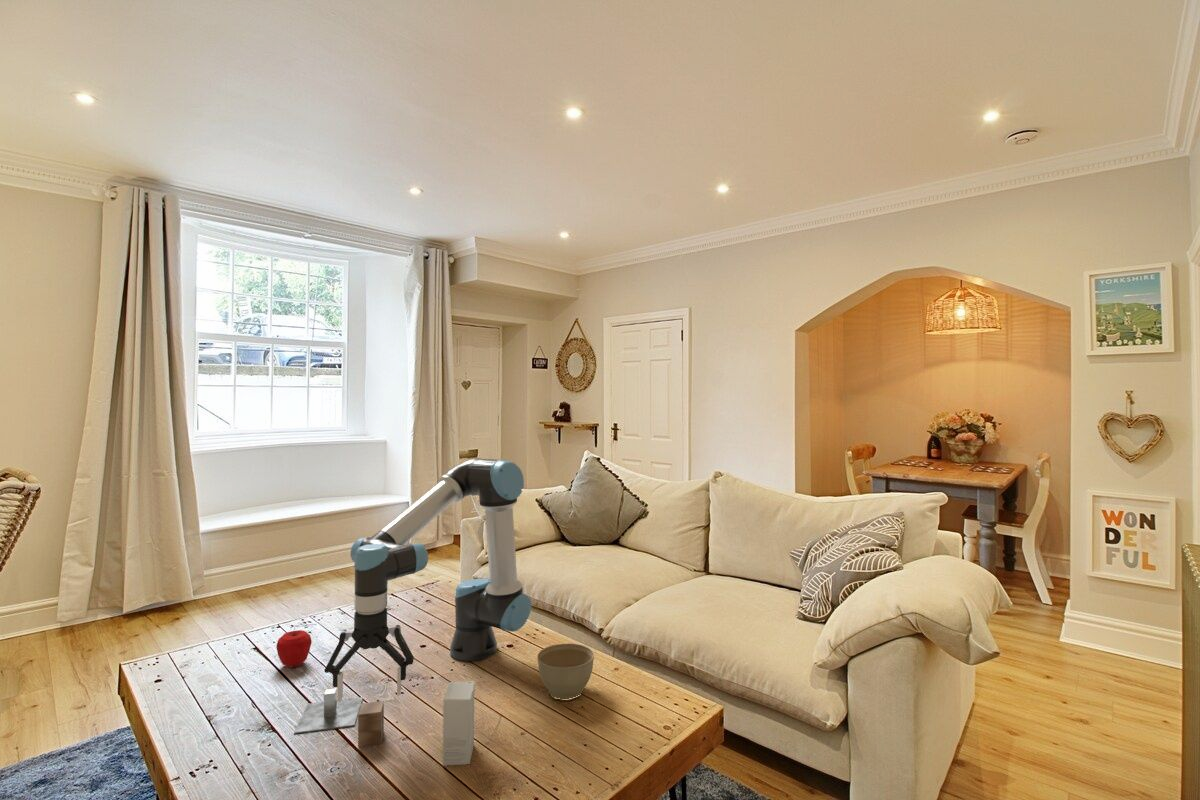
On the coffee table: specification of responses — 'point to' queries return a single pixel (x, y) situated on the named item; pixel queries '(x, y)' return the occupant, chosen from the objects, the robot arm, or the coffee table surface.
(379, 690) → the coffee table surface
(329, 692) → the grey square base plate
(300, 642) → the apple
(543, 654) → the planter bowl
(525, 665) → the coffee table surface
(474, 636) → the robot arm
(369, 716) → the tan wooden block
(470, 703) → the skincare box
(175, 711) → the coffee table surface
